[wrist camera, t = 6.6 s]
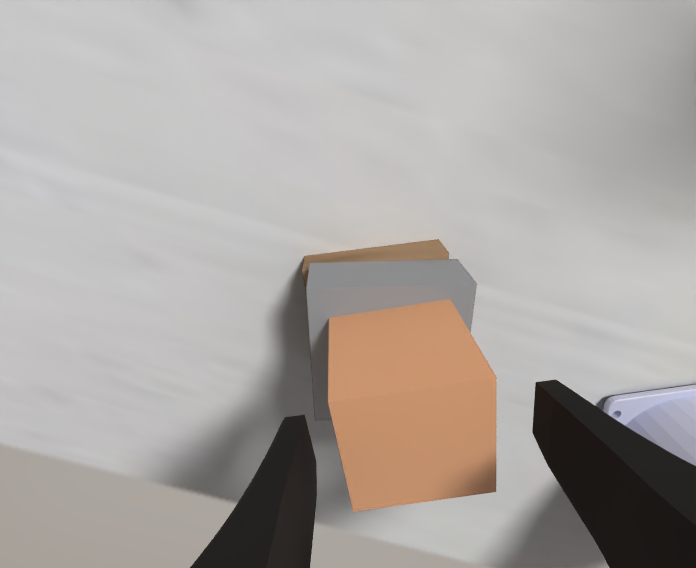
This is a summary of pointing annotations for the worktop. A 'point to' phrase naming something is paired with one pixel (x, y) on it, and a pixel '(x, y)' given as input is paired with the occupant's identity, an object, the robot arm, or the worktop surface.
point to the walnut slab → (381, 254)
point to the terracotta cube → (411, 406)
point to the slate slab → (376, 300)
